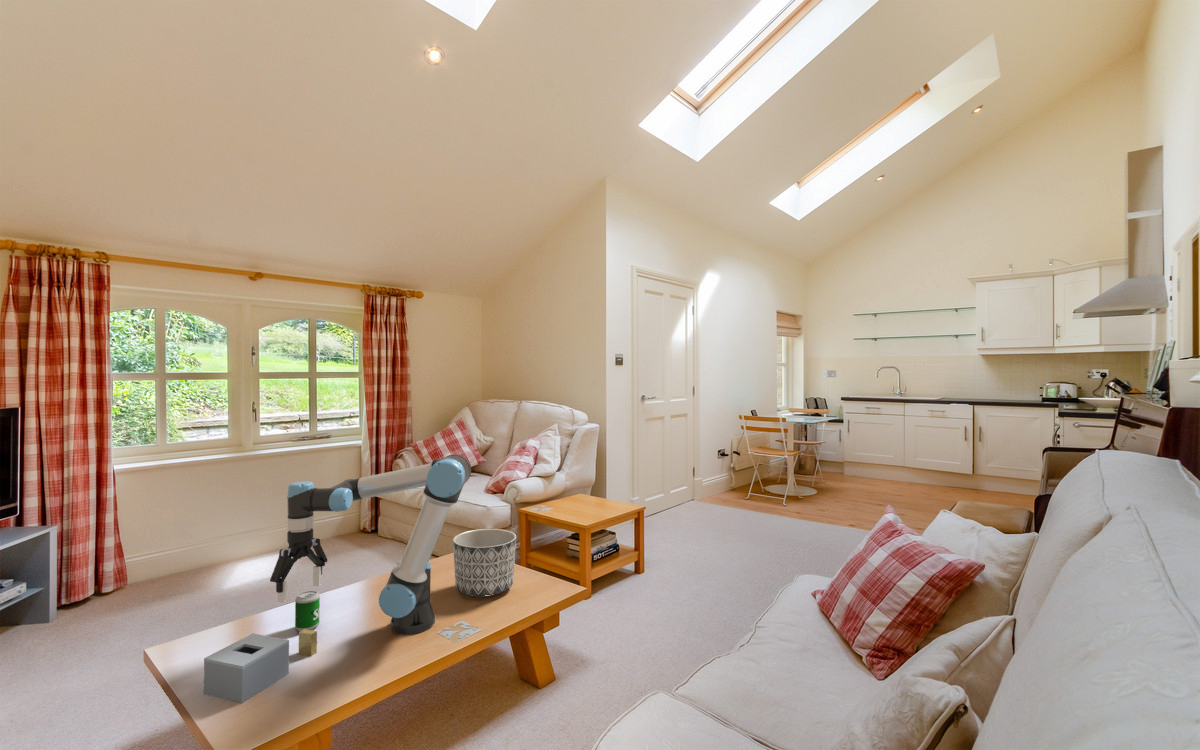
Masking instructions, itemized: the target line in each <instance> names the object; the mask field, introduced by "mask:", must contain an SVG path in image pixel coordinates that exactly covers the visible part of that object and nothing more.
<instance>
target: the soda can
mask: <svg viewBox="0 0 1200 750" xmlns="http://www.w3.org/2000/svg"><path fill="white" fill-rule="evenodd" d="M320 598H321V596H320V593H318V592H317V591H315V590H308V591H307V590H306V591H304V592H301V593H299V594H298V595H297V596H296V598H295V600H294V601H295V603H294V605H295V606H294V608H295V612H294V615H295V617H294V625H295V626H294V627H295V630H297V631H298V633H299V632H300V631H302V630H304V629H307V630H313V631H315V629H316V628H317V627H318V626H319V624H320Z"/></svg>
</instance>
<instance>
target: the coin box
mask: <svg viewBox="0 0 1200 750" xmlns="http://www.w3.org/2000/svg"><path fill="white" fill-rule="evenodd" d="M289 661H290V640H289V639H284V638H280V637H279V638H278V637H273V636H268V635H264V634H259V633H258V634H257V633H251V634H249V635H247V636H245V637H243V638H241V639H239V640H238V641H236V642H233V643H231V644H230V645H227V646H225V647H224V648H223V647H222V649H219V650H218V651H216V652H213V653H212V654H210V655H208V656H206V657H204V658H203V694H204V695H207V696H211V697H215V698H219V699H224V700H227V701H232V702H237V703H241V704H243V703H244V702H246V701H248V700H249V699H251V698H253V697H254V696H256V695H257V694H259V693H261V692H262V691H264V690H265V689H267V688H268V687H270V686H272V685H273V684H275V683H276V682H278V681H279V680H281V679H283V678H285V677H286V676H287V675H289V673H290V671H289V670H290V662H289Z"/></svg>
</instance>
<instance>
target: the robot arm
mask: <svg viewBox="0 0 1200 750" xmlns="http://www.w3.org/2000/svg"><path fill="white" fill-rule="evenodd" d="M471 474H472V466H471V463H470V462H469V460H468V459H467V458H466V457H464V456H463V455H460V454H449V455H446V456H445V457H441V458H436V459H432V460H431V461H430V463H426V464H422V465H421V464H420V465H417V466H412V467H406V468H402V469H398V470H393V471H388V472H383V473H378V474H373V475H369V476H365V477H364V476H362V477H359V478H349V479H345V480H343V481H342V482H340V483H338V484H335V485H333V486H332V487H326V488H325V487H320V488H319V487H315V486H314V482H312V481H308V480H305V481H303V480H302V481H295V482H292V483H290V484H289V485H288V487H287V497H286V499H287V528H286V529H287V534H286V535H287V537H286V541H287V544H288V548H286V549H284V548H281V549H280V550H279V552H278V557H277V560H276V564H275V566H274V569H273V571H272V573H271V575H270V576H271V577H270V578H269V579H270V580H269V582H270V583H275V588H276V589H275V591H276V593H277V602H278V603H286V602H287V581H285V580H286V578H287V576H288V575H289V574H290V572H291V569H292V568H293V566H294V564H295V563H296V562H297V561H298V560H300V559H302V558H305V557H307V558H308V559H309V561H311V562H312V563H313V564H314V566H312V586H314V587H318V588H319V587H321V586H322V575H323V567H325V566H326V563H328V561H329V560H328V558H327V555H326V553H325V551H324V549H323V547H322V545H321V539H320V538H317V537H314V528H313V527H314V512H335V513H336V512H337V513H338V512H346V511H348V510H349V509H350V508H351V506H352V504H353V502H355V501H356V502H357V501H361V500H364V499H368V498H373V497H374V498H375V497H379V496H384V495H389V494H393V493H399V492H403V491H407V490H412V489H418V488H422V487H424V489H423V495H424V497H425V499H424V501H423V504H422V507H421V509H420V511H419V515H418V516H417V518H416V519H417V520H416V521H415V524H414V528H413V529H412V531H411V535H410V537H409V540H408V542H407V545H406V547H405V550H404V552H403V555H402V557H401V560H399V561H398V562H397V563H396V565H395V566H394V567H393V568H392V569H391V572H390V575H389V577H388V580H387V581H386V584H385V586H384V587H383V588H382V589H381V591H380V593H379V595H378V596H379V597H378V605H379V607H380V609H381V611H382V612H383V613H384V614H385V615H386V616H388V617H391V620H390V630H391V631H392V632H393V633H396V634H399V635H411V634H412V635H414V634H419V633H422V632H425V631H427V630H429V629H431V628H432V627H433V626H434V625H435V623H436V614H435V612H434V609H433V606H432V602H431V575H432V574H431V573H432V567H431V561H430V559H431V556H432V555H433V552H434V548H435V547H436V543H437V542H438V538H439V537H440V534H441V531H442V528H443V526H444V523H445V521H446V518H447V517H448V514H449V511H450V508H451V506H454V505H456V504H457V503H458V501H459V498H460V496H461V494H462V490H463V487H464V486H465V484H466V483H467V482H468V481H469V479H470V477H471ZM433 624H434V625H433ZM432 625H433V626H432ZM431 626H432V627H431ZM430 627H431V628H430Z"/></svg>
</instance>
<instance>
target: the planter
mask: <svg viewBox="0 0 1200 750" xmlns="http://www.w3.org/2000/svg"><path fill="white" fill-rule="evenodd" d="M452 545H453V546H452V547H453V562H454V563H453V564H454V583H455V589H456V590H457V591H458V592H459V593H461V594H464V595H468V596H471V595H473V596H472V597H475V596H485V595H492V594H496V595H498V594H500V593H503V592H505V591H507V590H508V589H510V588H511V587H512V586H513V583H514V576H515V575H514V573H515V563H516V562H515V561H516V560H515V559H516V546H517V535H516V533H514V532H513V531H510V530H508V529H503V528H502V529H501V528H479V529H473V530H468V531H464V532H462V533H458V534H457V535H455V536H454V537H453V538H452ZM497 593H498V594H497ZM492 596H493V595H492Z"/></svg>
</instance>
